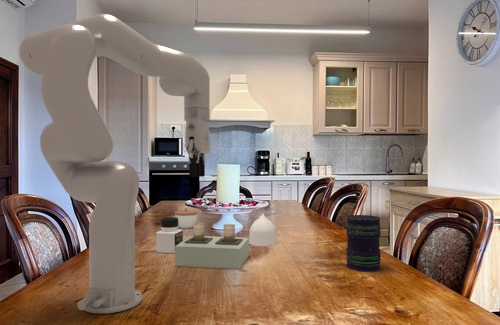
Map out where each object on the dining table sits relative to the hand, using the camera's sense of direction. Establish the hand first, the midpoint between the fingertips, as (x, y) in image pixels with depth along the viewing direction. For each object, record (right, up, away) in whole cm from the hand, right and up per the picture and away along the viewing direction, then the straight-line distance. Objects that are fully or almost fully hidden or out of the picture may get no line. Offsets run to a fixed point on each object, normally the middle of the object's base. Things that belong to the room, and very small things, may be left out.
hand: (197, 176), depth 109 cm
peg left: (-1, -22, +8) cm, 24 cm away
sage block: (+4, -27, +7) cm, 29 cm away
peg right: (+9, -22, +7) cm, 25 cm away
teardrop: (+21, -28, +33) cm, 48 cm away
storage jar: (+50, -27, 0) cm, 57 cm away
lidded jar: (-15, -28, +67) cm, 73 cm away
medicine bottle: (-13, -28, +20) cm, 37 cm away
